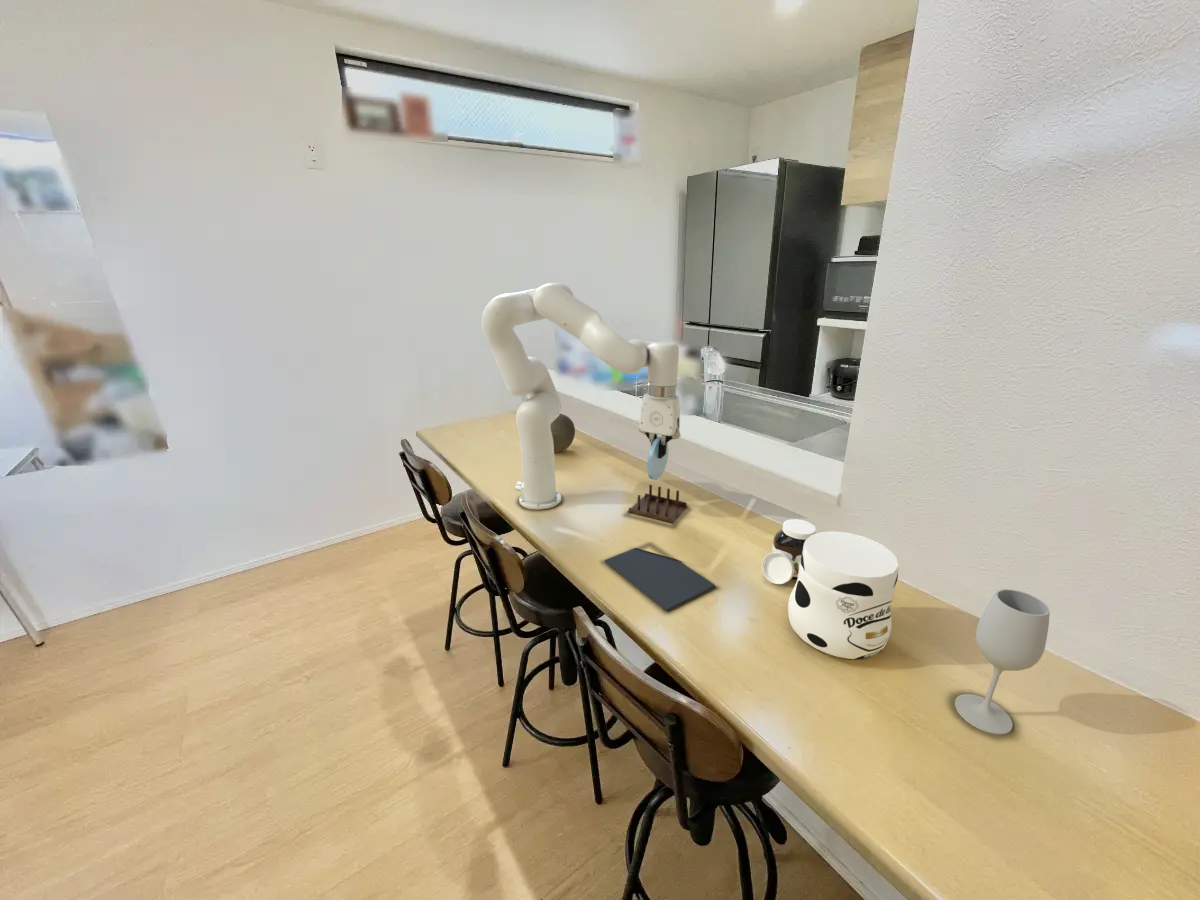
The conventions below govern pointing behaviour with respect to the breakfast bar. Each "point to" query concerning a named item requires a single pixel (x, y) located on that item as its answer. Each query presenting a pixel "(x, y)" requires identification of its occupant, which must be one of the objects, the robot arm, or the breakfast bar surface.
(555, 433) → the dark grey ball
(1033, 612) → the wineglass
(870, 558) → the milk container
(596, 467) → the breakfast bar surface
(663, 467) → the plate
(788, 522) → the spread jar
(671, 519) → the rack
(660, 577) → the mat
